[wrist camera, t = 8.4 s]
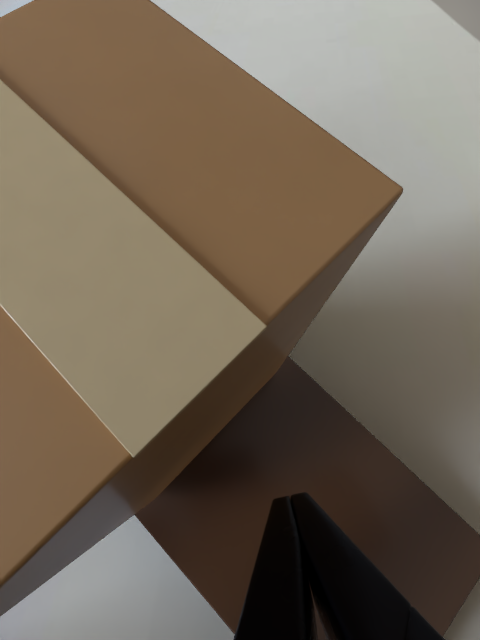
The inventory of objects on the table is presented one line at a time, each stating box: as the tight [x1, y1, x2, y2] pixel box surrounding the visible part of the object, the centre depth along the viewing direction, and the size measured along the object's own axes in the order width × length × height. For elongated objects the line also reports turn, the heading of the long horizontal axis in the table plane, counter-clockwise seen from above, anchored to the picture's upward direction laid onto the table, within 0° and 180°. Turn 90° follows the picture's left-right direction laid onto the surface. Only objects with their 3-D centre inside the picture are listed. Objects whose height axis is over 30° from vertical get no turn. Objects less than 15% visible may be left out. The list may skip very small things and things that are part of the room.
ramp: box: [134, 356, 480, 640], centre depth 15 cm, size 19×9×6 cm, turn 45°
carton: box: [0, 0, 403, 616], centre depth 10 cm, size 8×7×13 cm
